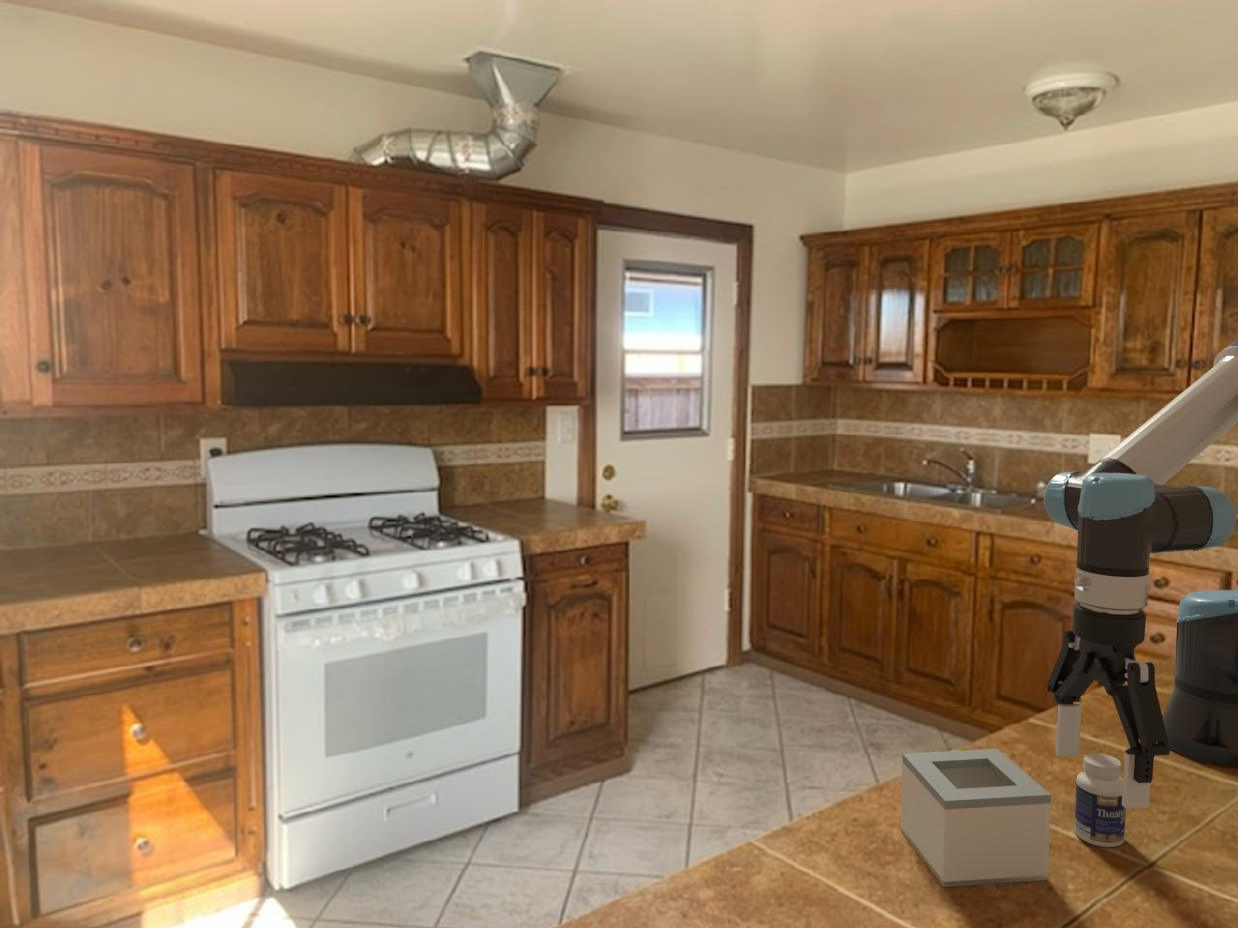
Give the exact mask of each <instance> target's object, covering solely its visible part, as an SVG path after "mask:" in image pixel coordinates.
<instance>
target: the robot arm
mask: <svg viewBox="0 0 1238 928" xmlns="http://www.w3.org/2000/svg"><path fill="white" fill-rule="evenodd" d="M1212 365H1213V366H1212V368H1210V369H1209V370H1208V371H1206V372H1205V373H1204V374H1203V375H1202V376H1200V377H1199V378H1198V379H1197V380H1196V381H1194V382H1193V383H1192V384H1191V385H1189V386H1188V387H1187V388H1185V389H1184V391H1182V392H1180V393H1179V395H1177V396H1176V397H1175V398H1174V399H1172V400H1171V401H1170V402H1168V403H1167V404H1166V405H1165V406H1163V407H1162V408H1161V409H1160V410H1159V411H1157V413H1155V414H1154V415H1152V416H1151V417H1150V418H1149V419H1148V420H1146V421H1145V422H1144V423H1142V425H1141V426H1140V427H1138V428H1137V429H1136V430H1134V431H1133V432H1132V433H1131V434H1129V436H1127V437H1126V438H1124V439H1123V440H1122V441H1120V442H1119V443H1118V444H1117V445H1116V446H1115V447H1113V448H1112V449H1111V450H1109V452H1108V453H1106V454H1105V455H1104V456H1102V457H1101V458H1100V459H1098V461H1096V462H1095V463H1094V464H1092V465H1091V466H1090V467H1089V468H1087V469H1086V470H1085V471H1083V472H1080V471H1077V470H1075V471H1064V472H1059V473H1057V474H1056V475H1054V476H1053V477H1052V478H1051V479H1050V480H1049V482H1048V483H1047V485H1046V487H1045V490H1044V494H1043V506H1044V507H1043V508H1044V509H1045V511H1046V512H1045V513H1046V514H1047V515H1048V517H1049V518H1050V519H1051V520H1052V521H1053V522H1054V523H1056V524H1058V525H1061V526H1064V527H1066V528H1070V529H1073V530H1076V531H1077V544H1076V545H1077V547H1076V548H1077V549H1076V572H1075V579H1074V580H1073V581H1074V599H1076V601H1077V602H1076V603H1075V604H1074V605H1073V611H1072V628H1071V629H1066V630H1064V633H1063V641H1062V642H1063V643H1062V647H1061V649H1060V651H1059V653H1058V656H1057V658H1056V661H1055V664H1054V666H1053V669H1052V671H1051V674H1050V676H1049V678H1048V680H1047V683H1046V691H1047V692H1048V693H1051V694H1053V699H1054V701H1055V702H1056V719H1055V721H1056V727H1055V728H1056V729H1055V747H1054V755H1055V756H1057V757H1075V756H1076V757H1078V756H1080V754H1079V753H1080V736H1081V721H1082V705H1080V704H1079V703H1082V702H1083V700H1082V696H1083V695H1084V693H1085V692H1086V691H1087V690H1088V688H1089V687H1090V686H1091V685H1092V684H1093V683H1094V681H1095V682H1097V683H1098V684H1099V685H1100V686H1101V687H1103V688H1104V689H1105V693H1106V694H1107V695H1108V696H1110V697H1111V698H1112V700H1113V703H1114V706H1115V709H1116V711H1117V713H1118V717H1119V719H1120V722H1121V725H1122V728H1123V730H1124V734H1125V736H1126V739H1127V742H1128V745H1129V748H1128V749H1125V750H1124V760H1123V761H1124V762H1123V763H1124V764H1123V765H1124V766H1123V778H1122V779H1123V791H1122V806H1123V807H1125V808H1126V809H1141V808H1142V809H1144V808H1149V806H1150V795H1151V793H1150V792H1151V783H1152V781H1153V776H1154V773H1153V772H1154V759H1155V757H1157V756H1169V755H1170V754H1171V750H1172V751H1174V752H1176V753H1178V754H1180V755H1183V756H1185V757H1188V758H1191V759H1193V760H1197V761H1201V762H1204V763H1208V764H1211V765H1212V764H1213V765H1217V766H1222V767H1223V766H1224V767H1231V768H1238V590H1233V589H1232V590H1231V589H1217V590H1216V589H1215V590H1214V589H1212V590H1211V589H1209V590H1200V591H1192V592H1190V593H1187V594H1186V595H1184V596H1183V597H1181V599H1180V601H1179V605H1178V606H1179V607H1178V614H1177V619H1176V622H1175V623H1176V637H1175V639H1176V641H1175V660H1174V661H1175V665H1174V683H1173V689H1172V692H1171V694H1170V696H1169V699H1168V701H1167V703H1166V705H1165V709H1164V711H1163V713H1162V709H1161V704H1160V700H1159V696H1158V695H1159V694H1158V692H1157V688H1156V670H1155V669H1156V668H1155V665H1154V663H1153V662H1147V661H1146V662H1139V661H1137V660H1136V657H1135V655H1136V654H1135V649H1136V648H1137V646H1139V645H1140V644H1142V643H1143V642H1144V641H1145V636H1146V621H1147V613H1146V612H1145V611H1144V610H1143V609H1144V608H1146V607H1147V606H1148V602H1149V601H1148V598H1149V581H1150V577H1149V576H1150V574H1149V573H1150V561H1151V554H1156V553H1170V552H1172V553H1173V552H1184V551H1187V552H1188V551H1193V552H1198V551H1202V550H1205V549H1210V548H1215V547H1218V546H1220V545H1222V544H1224V543H1225V542H1227V541H1228V540H1229V539H1230V537H1231V536H1233V535H1232V534H1233V533H1234V530H1235V527H1236V522H1237V521H1236V517H1237V516H1236V510H1235V508H1234V504H1233V503H1232V501H1231V500H1230V499H1229V497H1228V496H1227V495H1226V494H1225V493H1223V492H1222V491H1221V490H1219V489H1217V488H1214V487H1210V486H1197V485H1188V486H1185V487H1183V486H1171V485H1165V483H1166V482H1167V481H1169V480H1170V479H1171V478H1172V477H1174V476H1175V475H1176V474H1177V473H1178V472H1179V471H1181V470H1182V469H1183V468H1184V467H1186V466H1187V465H1188V464H1189V463H1190V462H1191V461H1192V460H1194V459H1195V458H1196V457H1197V456H1199V455H1200V454H1201V453H1202V452H1204V451H1205V450H1206V449H1207V448H1208V447H1210V446H1211V445H1212V444H1213V443H1215V441H1217V440H1218V439H1219V438H1220V437H1222V436H1223V435H1224V434H1225V433H1226V432H1227V431H1228V430H1230V429H1231V428H1232V427H1233V426H1235V425H1236V424H1237V423H1238V338H1236V339H1235V340H1233V341H1232V342H1231V343H1229V345H1226V347H1225V348H1223V349H1222V350H1221V351H1220V352H1218V353H1217V355H1216V356H1215V357H1214V359H1213V363H1212ZM1126 683H1127V684H1126ZM1124 684H1126V685H1124Z"/></svg>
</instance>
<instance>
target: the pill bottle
mask: <svg viewBox="0 0 1238 928" xmlns="http://www.w3.org/2000/svg"><path fill="white" fill-rule="evenodd" d="M1082 763H1083V764H1082V767H1083V770H1081V772H1079V773H1078V774H1077V777H1076V780H1075V802H1074V803H1075V804H1074V805H1075V806H1074V821H1073V822H1074V833H1075V834H1076V836H1077V837H1078V838H1079V839H1081V840H1082V841H1084V842H1086V843H1087V844H1090V845H1093V846H1098V847H1103V848H1115V847H1119V846H1121V845H1123V843H1124V841H1125V832H1126V831H1125V830H1126V817H1127V816H1126V814H1127V808H1125V807H1123V806H1122V791H1123V778H1122V777H1121V774H1122V763H1121V761H1120V760H1119V759H1118V758H1116V757H1114V756H1112V755H1108V754H1104V753H1099V752H1097V753H1096V752H1094V753H1087V754H1085V755H1084V757H1083V762H1082Z"/></svg>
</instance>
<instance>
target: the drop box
mask: <svg viewBox="0 0 1238 928" xmlns="http://www.w3.org/2000/svg"><path fill="white" fill-rule="evenodd" d="M901 760H902V766H901V768H902V769H901V772H902V773H901V816H900V817H901V819H900V824H901V825H900V832H901V834H903V836H904V837H905V838H906V840H907V841H908V843H909V844H910V846H912V848H913V849H914V850H915V852H916V853H917V855H918V856H919V858H921V860H922V862H924V863H925V865H926V867H927V868H928V869H929V870H930V872H931V874H932V875H934V877H935V879H936V880H937V881H938V883H939V884H940V885H941V886H942V888H948V887H949V888H951V887H967V886H976V885H977V886H980V885H996V884H1011V883H1024V882H1026V883H1027V882H1039V881H1040V882H1041V881H1048V880H1049V879H1048V878H1049V856H1050V855H1049V854H1050V850H1049V849H1050V829H1051V826H1050V824H1051V801H1052V794H1051V793H1050V792H1049V791H1047V790H1046V788H1044V787H1043V786H1041V785H1040V784H1039V783H1038V782H1037V781H1036V780H1034V779H1033V778H1032V777H1031V776H1030V775H1029V774H1028V773H1027V772H1025V771H1024V770H1023V769H1022V768H1021V767H1020V766H1018V765H1017V764H1016V763H1015V762H1014V761H1013V760H1011V759H1010V758H1009V756H1007V755H1006V754H1005V753H1003V752H1002V751H1001V750H1000V749H999V748H984V749H983V748H982V749H981V748H980V749H967V750H961V751H952V750H947V751H946V750H945V751H943V750H942V751H929V752H926V751H924V752H909V753H908V752H907V753H902V759H901Z"/></svg>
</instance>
